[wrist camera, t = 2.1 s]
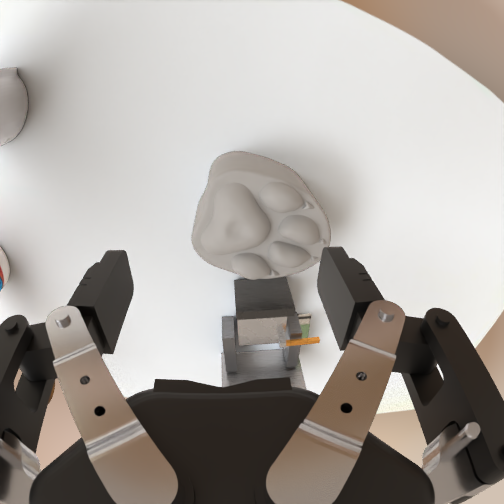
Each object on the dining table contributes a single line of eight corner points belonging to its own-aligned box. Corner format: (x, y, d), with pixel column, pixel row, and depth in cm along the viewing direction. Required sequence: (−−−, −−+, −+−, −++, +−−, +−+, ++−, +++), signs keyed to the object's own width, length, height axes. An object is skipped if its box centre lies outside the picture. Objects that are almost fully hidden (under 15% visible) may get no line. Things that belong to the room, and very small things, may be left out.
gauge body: (217, 317, 42) (217, 367, 35) (310, 310, 43) (326, 358, 36) (222, 358, 47) (223, 405, 40) (304, 352, 48) (315, 397, 40)
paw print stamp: (219, 141, 30) (217, 161, 23) (329, 182, 33) (358, 213, 26) (190, 226, 35) (182, 268, 27) (292, 256, 38) (308, 301, 31)
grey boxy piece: (234, 280, 39) (236, 312, 33) (318, 274, 39) (331, 305, 34) (237, 330, 43) (239, 362, 38) (310, 325, 44) (320, 355, 39)
